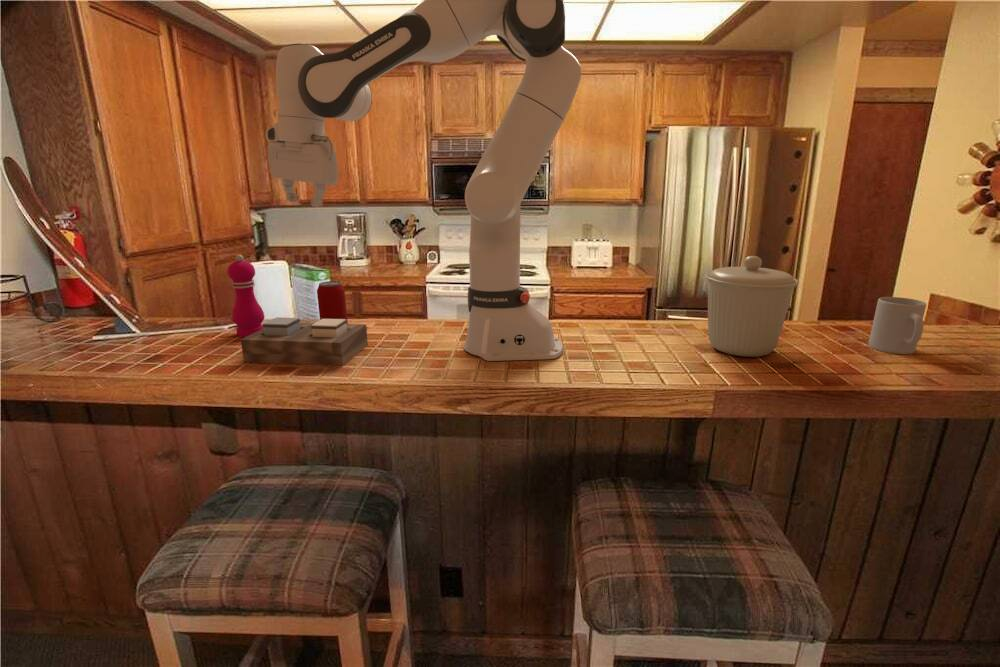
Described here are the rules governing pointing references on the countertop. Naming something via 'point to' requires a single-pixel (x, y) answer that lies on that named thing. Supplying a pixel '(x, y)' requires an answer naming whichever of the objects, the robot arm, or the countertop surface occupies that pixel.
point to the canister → (747, 307)
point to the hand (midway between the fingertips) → (304, 204)
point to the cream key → (329, 328)
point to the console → (305, 346)
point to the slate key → (282, 326)
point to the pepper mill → (245, 298)
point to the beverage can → (331, 300)
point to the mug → (897, 325)
